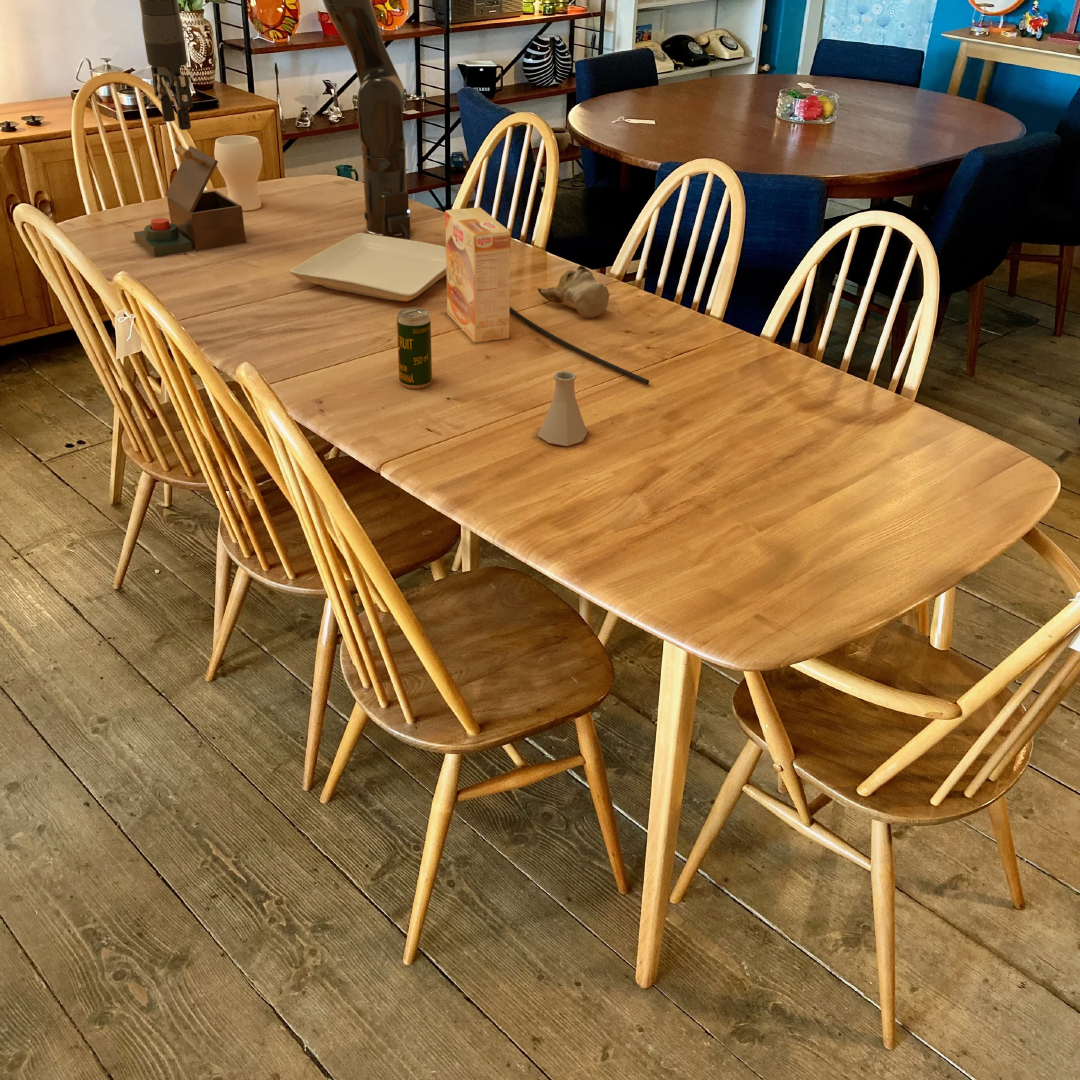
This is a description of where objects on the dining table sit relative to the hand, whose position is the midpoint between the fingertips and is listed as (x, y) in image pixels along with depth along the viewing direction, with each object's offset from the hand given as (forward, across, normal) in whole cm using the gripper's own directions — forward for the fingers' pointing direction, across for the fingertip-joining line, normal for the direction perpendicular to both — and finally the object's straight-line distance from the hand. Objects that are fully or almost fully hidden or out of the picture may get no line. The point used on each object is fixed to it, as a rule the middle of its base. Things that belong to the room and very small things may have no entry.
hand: (177, 125), depth 225 cm
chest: (+24, 0, -3) cm, 24 cm away
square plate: (+24, -41, -23) cm, 53 cm away
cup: (+24, +18, -19) cm, 36 cm away
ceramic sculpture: (+25, -75, -46) cm, 91 cm away
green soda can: (+24, -87, -3) cm, 90 cm away
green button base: (+24, 0, +7) cm, 25 cm away
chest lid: (+11, 0, -2) cm, 11 cm away
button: (+20, 0, +7) cm, 21 cm away
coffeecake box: (+25, -72, -25) cm, 80 cm away
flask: (+25, -115, -12) cm, 118 cm away
